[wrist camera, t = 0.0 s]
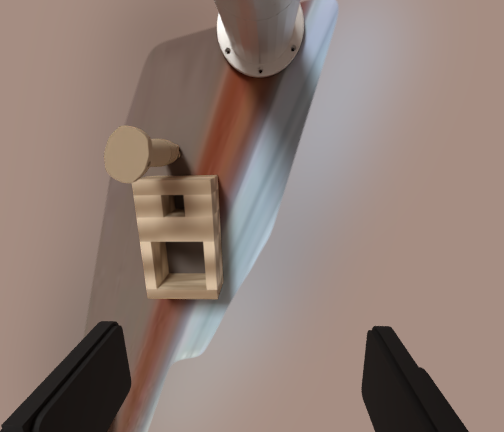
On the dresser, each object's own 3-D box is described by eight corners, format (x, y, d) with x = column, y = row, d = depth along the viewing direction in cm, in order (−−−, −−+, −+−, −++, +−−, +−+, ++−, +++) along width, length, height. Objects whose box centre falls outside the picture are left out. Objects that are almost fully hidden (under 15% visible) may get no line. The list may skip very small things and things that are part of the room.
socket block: (148, 176, 46) (131, 180, 40) (217, 175, 45) (210, 179, 39) (161, 280, 51) (147, 298, 45) (223, 281, 50) (217, 299, 45)
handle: (192, 140, 44) (155, 138, 29) (178, 175, 46) (136, 189, 31) (165, 127, 44) (114, 118, 29) (152, 162, 45) (98, 171, 31)
